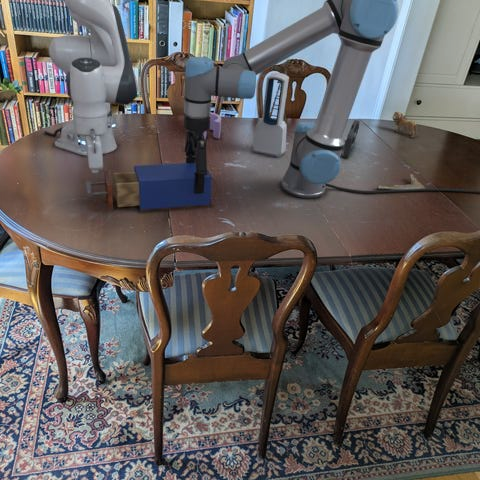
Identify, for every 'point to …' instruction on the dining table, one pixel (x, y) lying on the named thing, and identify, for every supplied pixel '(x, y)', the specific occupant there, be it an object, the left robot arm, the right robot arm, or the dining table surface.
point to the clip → (214, 125)
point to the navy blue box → (171, 187)
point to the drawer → (119, 189)
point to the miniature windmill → (278, 68)
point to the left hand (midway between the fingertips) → (95, 170)
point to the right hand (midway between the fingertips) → (194, 184)
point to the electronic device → (272, 121)
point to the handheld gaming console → (351, 139)
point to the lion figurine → (404, 123)
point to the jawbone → (414, 185)
